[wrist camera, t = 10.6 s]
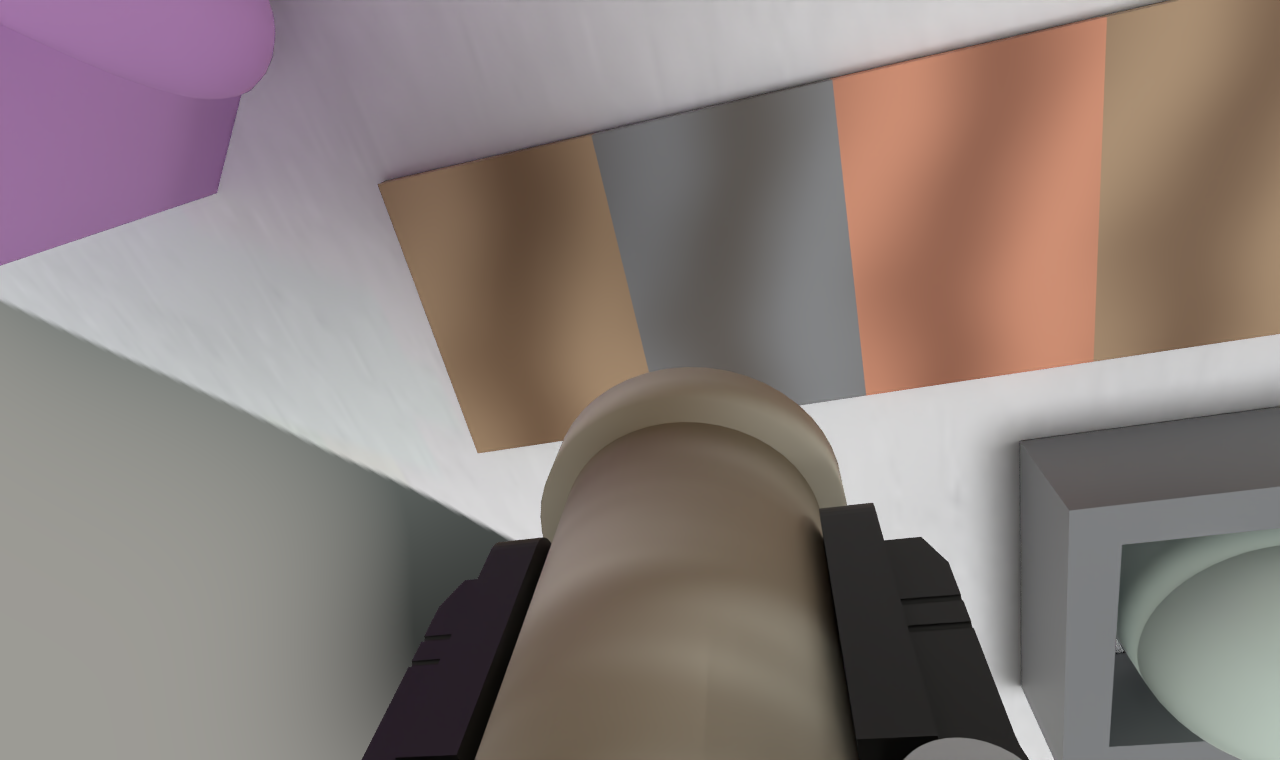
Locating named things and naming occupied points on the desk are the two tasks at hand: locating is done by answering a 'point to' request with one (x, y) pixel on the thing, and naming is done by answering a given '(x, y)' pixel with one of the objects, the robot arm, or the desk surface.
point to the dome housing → (1091, 562)
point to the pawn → (682, 584)
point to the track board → (873, 225)
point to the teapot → (117, 109)
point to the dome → (1208, 634)
